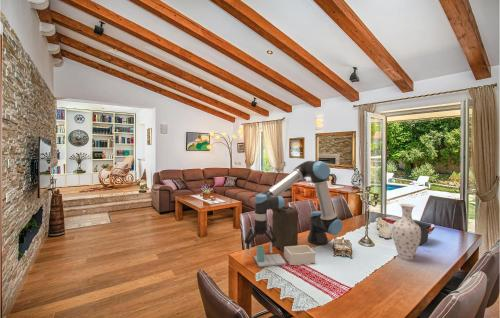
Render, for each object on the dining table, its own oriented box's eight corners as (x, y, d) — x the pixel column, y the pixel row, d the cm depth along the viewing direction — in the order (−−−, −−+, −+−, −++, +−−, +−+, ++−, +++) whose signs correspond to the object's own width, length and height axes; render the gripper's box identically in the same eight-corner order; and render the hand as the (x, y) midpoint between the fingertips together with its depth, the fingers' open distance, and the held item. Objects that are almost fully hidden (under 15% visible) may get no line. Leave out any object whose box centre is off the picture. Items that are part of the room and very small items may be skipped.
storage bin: (413, 236, 199) (413, 219, 198) (435, 242, 186) (436, 224, 185) (400, 242, 187) (401, 223, 186) (423, 248, 174) (424, 229, 174)
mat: (279, 255, 161) (279, 254, 161) (286, 265, 147) (286, 264, 147) (253, 257, 157) (253, 257, 157) (258, 267, 144) (258, 267, 144)
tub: (306, 255, 162) (306, 244, 161) (315, 263, 150) (315, 252, 150) (283, 257, 159) (284, 246, 158) (290, 265, 147) (290, 254, 147)
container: (298, 253, 165) (299, 209, 164) (286, 255, 161) (286, 211, 160) (282, 241, 186) (282, 202, 185) (270, 243, 182) (271, 203, 181)
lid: (279, 255, 160) (279, 241, 160) (285, 264, 148) (286, 249, 147) (254, 257, 157) (254, 243, 157) (258, 266, 144) (259, 251, 144)
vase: (395, 250, 171) (396, 201, 170) (422, 257, 159) (424, 205, 158) (388, 257, 160) (389, 204, 158) (417, 265, 148) (419, 209, 147)
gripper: (278, 216, 156) (277, 249, 157) (239, 218, 152) (239, 252, 152) (281, 220, 149) (281, 254, 150) (241, 222, 144) (241, 257, 145)
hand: (260, 253), depth 151 cm, fingers open, 13 cm apart
